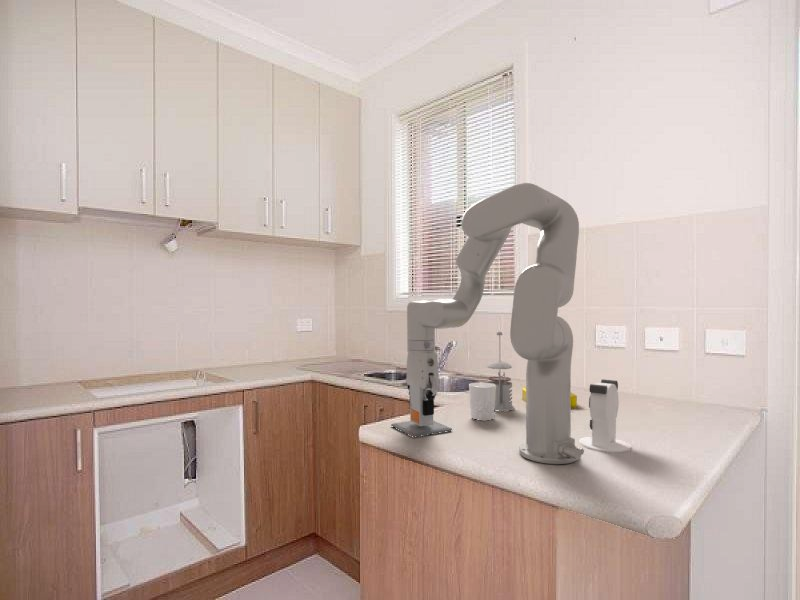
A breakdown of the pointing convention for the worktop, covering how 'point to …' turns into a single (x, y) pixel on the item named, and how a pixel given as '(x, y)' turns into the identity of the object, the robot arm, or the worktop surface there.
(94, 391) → the worktop surface
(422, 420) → the skincare box
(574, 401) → the element tile
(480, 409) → the white cup
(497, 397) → the french press
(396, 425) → the tray
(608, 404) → the panda figurine
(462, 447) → the worktop surface
